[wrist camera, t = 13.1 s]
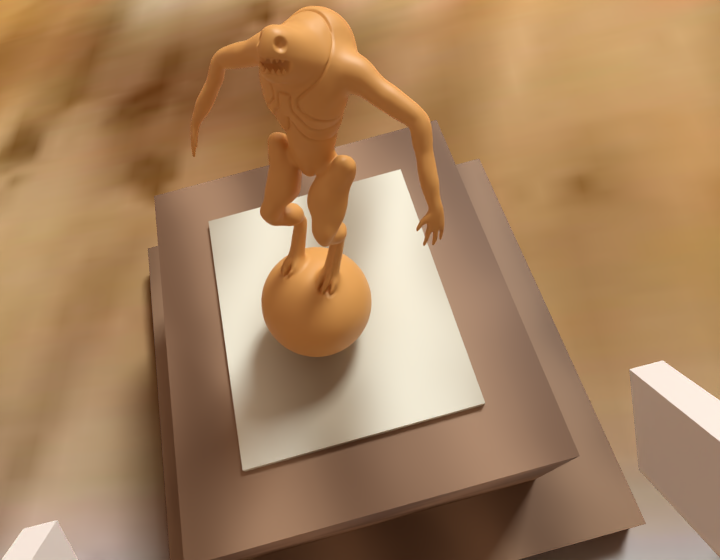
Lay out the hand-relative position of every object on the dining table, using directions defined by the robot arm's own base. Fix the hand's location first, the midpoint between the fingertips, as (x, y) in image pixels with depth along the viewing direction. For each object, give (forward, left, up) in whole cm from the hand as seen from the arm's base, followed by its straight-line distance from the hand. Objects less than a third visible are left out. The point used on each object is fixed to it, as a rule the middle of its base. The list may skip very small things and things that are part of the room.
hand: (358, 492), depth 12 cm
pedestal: (0, -8, -17) cm, 19 cm away
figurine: (0, -8, -7) cm, 10 cm away
